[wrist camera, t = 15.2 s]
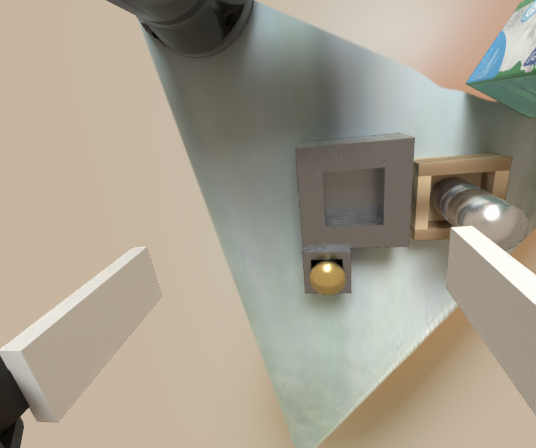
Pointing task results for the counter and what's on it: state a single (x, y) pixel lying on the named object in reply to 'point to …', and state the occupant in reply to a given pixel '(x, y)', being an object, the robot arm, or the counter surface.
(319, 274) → the gold rounded cylinder
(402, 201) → the socket block
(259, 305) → the counter surface
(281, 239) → the counter surface
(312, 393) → the counter surface
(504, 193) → the tray
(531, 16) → the milk carton
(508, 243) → the shiny silver rounded cylinder
